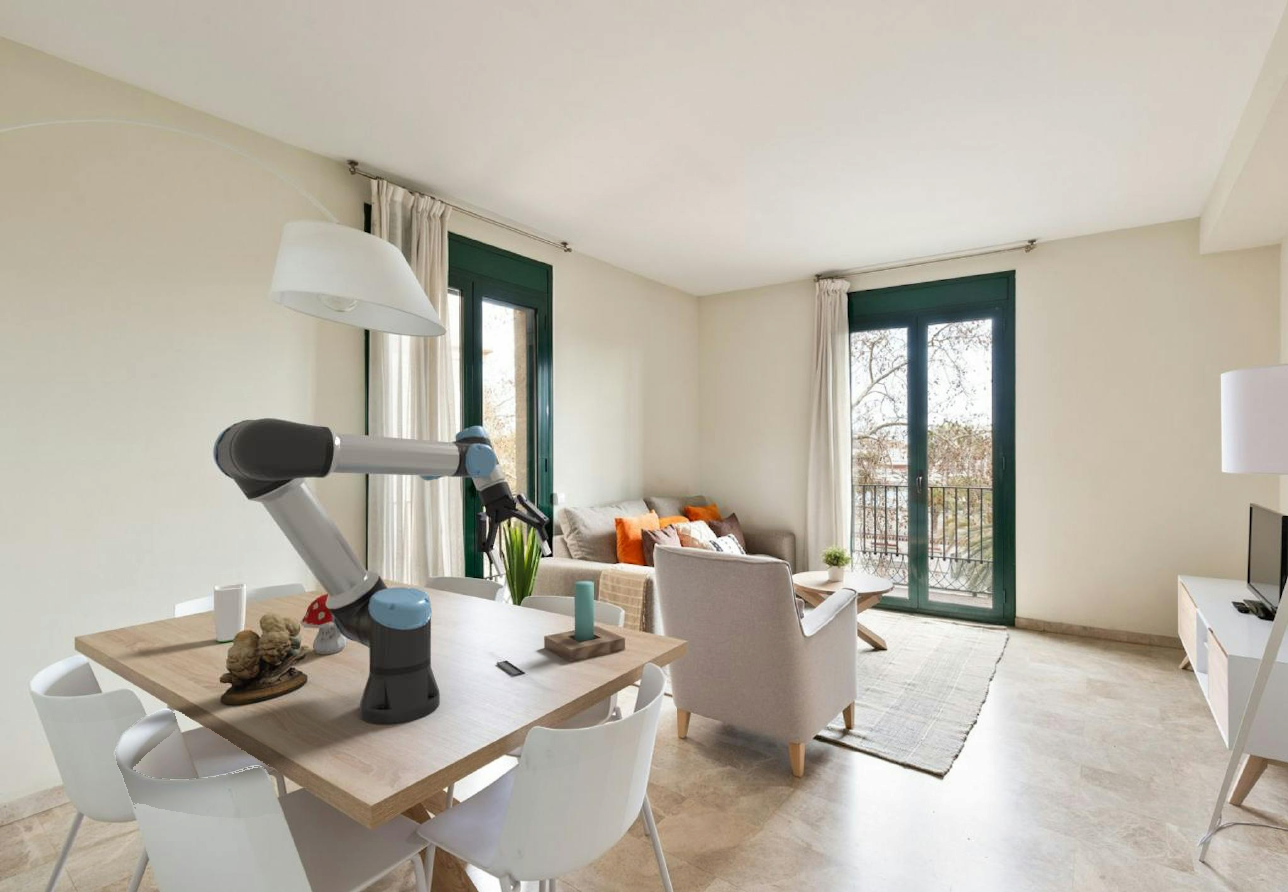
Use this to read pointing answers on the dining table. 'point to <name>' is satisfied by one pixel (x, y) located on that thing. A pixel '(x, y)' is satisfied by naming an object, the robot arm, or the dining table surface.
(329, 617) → the decorative mushroom
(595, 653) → the walnut holder
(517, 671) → the charcoal mat
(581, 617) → the teal peg
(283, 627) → the brown lumpy sculpture
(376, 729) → the dining table surface
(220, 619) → the cup
